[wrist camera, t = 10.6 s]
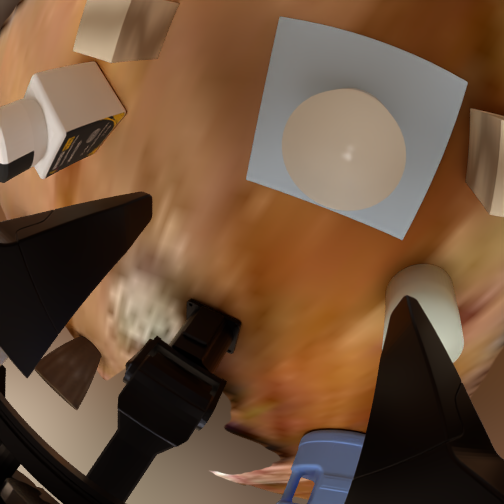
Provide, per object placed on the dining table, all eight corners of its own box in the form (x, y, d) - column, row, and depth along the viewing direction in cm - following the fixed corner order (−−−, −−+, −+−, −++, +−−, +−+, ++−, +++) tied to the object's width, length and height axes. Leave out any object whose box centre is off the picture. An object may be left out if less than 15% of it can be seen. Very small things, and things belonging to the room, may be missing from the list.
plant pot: (84, 351, 68) (52, 389, 56) (61, 316, 60) (23, 357, 48) (120, 374, 64) (86, 418, 51) (97, 338, 55) (55, 388, 43)
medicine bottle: (95, 153, 25) (-1, 207, 16) (67, 105, 23) (-28, 145, 14) (128, 112, 21) (8, 161, 12) (96, 59, 19) (-20, 89, 10)
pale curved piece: (428, 327, 22) (429, 382, 17) (373, 305, 23) (366, 362, 18) (465, 280, 18) (480, 336, 13) (407, 252, 19) (412, 309, 14)
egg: (377, 176, 17) (378, 228, 11) (304, 149, 18) (270, 186, 12) (402, 105, 14) (423, 119, 8) (323, 77, 14) (296, 74, 9)
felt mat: (401, 237, 19) (402, 240, 18) (248, 177, 21) (246, 179, 20) (465, 82, 11) (467, 82, 11) (281, 17, 13) (279, 16, 13)
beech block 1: (158, 59, 18) (111, 63, 14) (118, 46, 18) (72, 51, 14) (180, 3, 14) (133, -5, 10) (136, -4, 14) (90, -8, 11)
